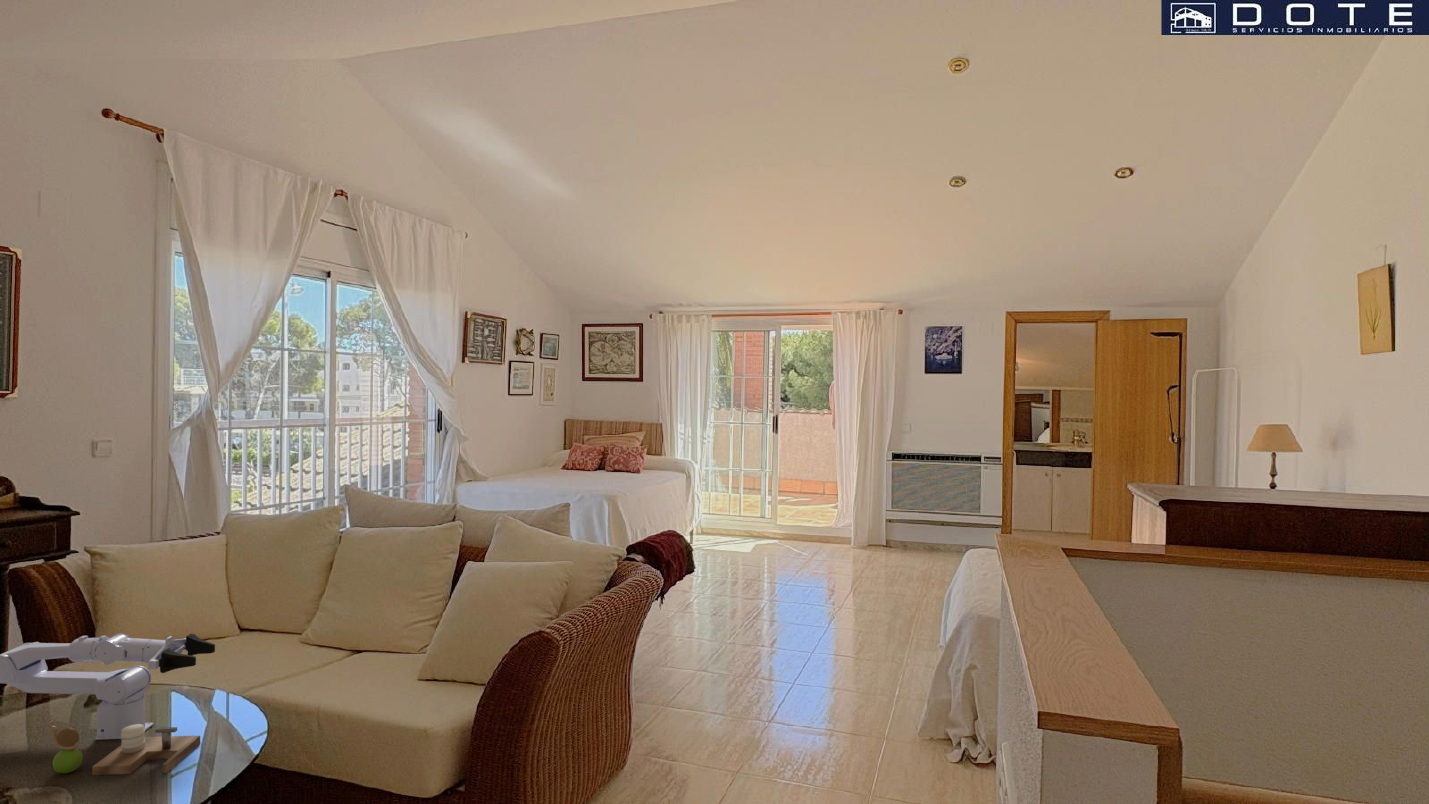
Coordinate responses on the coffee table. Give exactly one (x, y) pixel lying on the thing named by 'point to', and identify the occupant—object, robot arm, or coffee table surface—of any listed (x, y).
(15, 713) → the coffee table surface
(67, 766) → the snail figurine
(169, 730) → the hook post
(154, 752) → the shelf board
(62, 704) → the coffee table surface
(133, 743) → the ribbed cream cylinder
